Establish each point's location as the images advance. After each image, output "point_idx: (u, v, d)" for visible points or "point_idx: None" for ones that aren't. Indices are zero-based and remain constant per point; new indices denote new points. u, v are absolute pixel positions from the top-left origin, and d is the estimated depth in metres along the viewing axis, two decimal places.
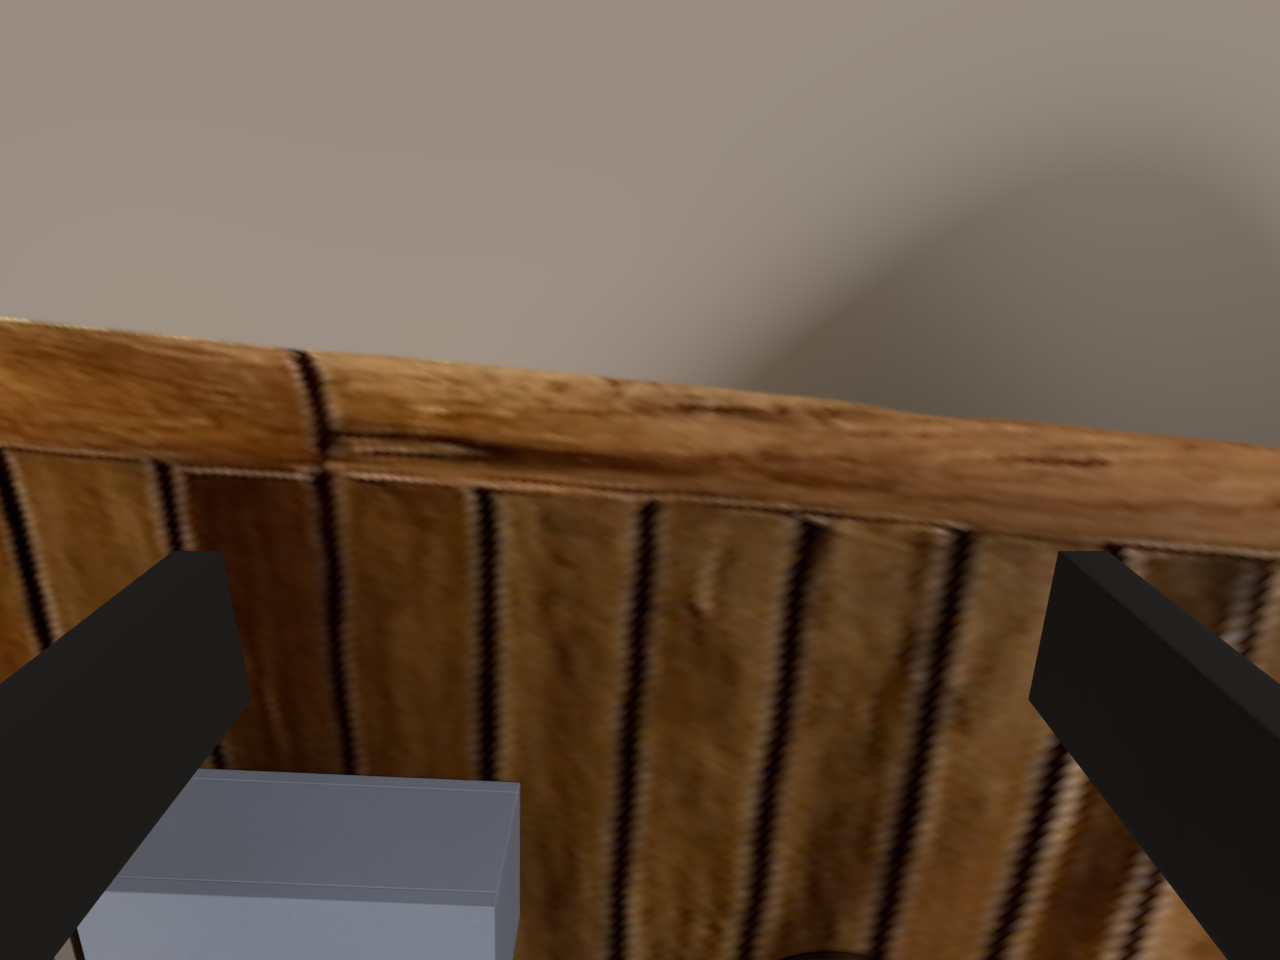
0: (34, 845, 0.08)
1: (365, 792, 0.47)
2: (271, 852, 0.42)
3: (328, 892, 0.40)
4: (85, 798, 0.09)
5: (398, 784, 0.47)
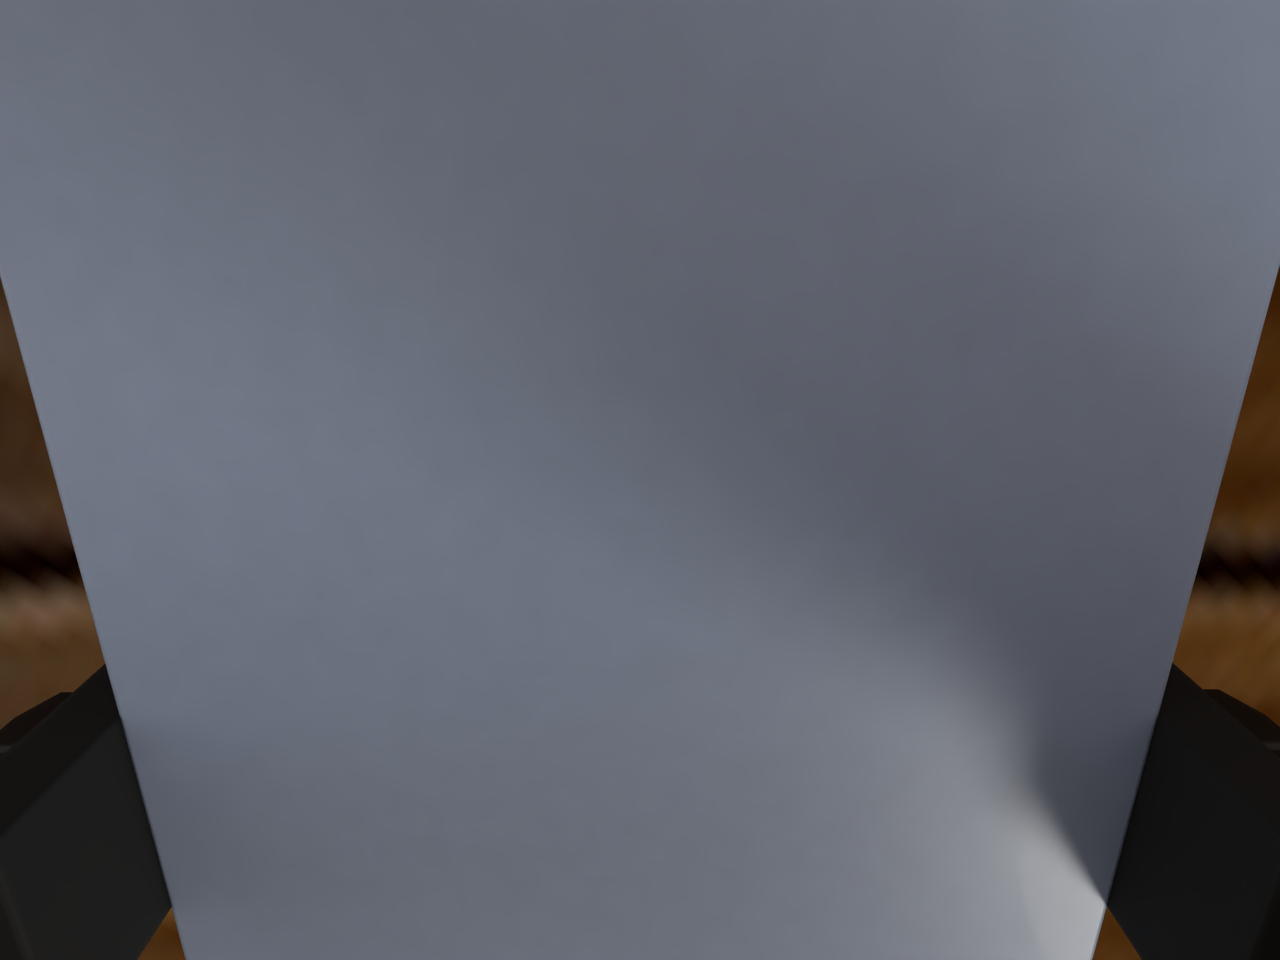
0: None
1: None
2: None
3: None
4: None
5: None
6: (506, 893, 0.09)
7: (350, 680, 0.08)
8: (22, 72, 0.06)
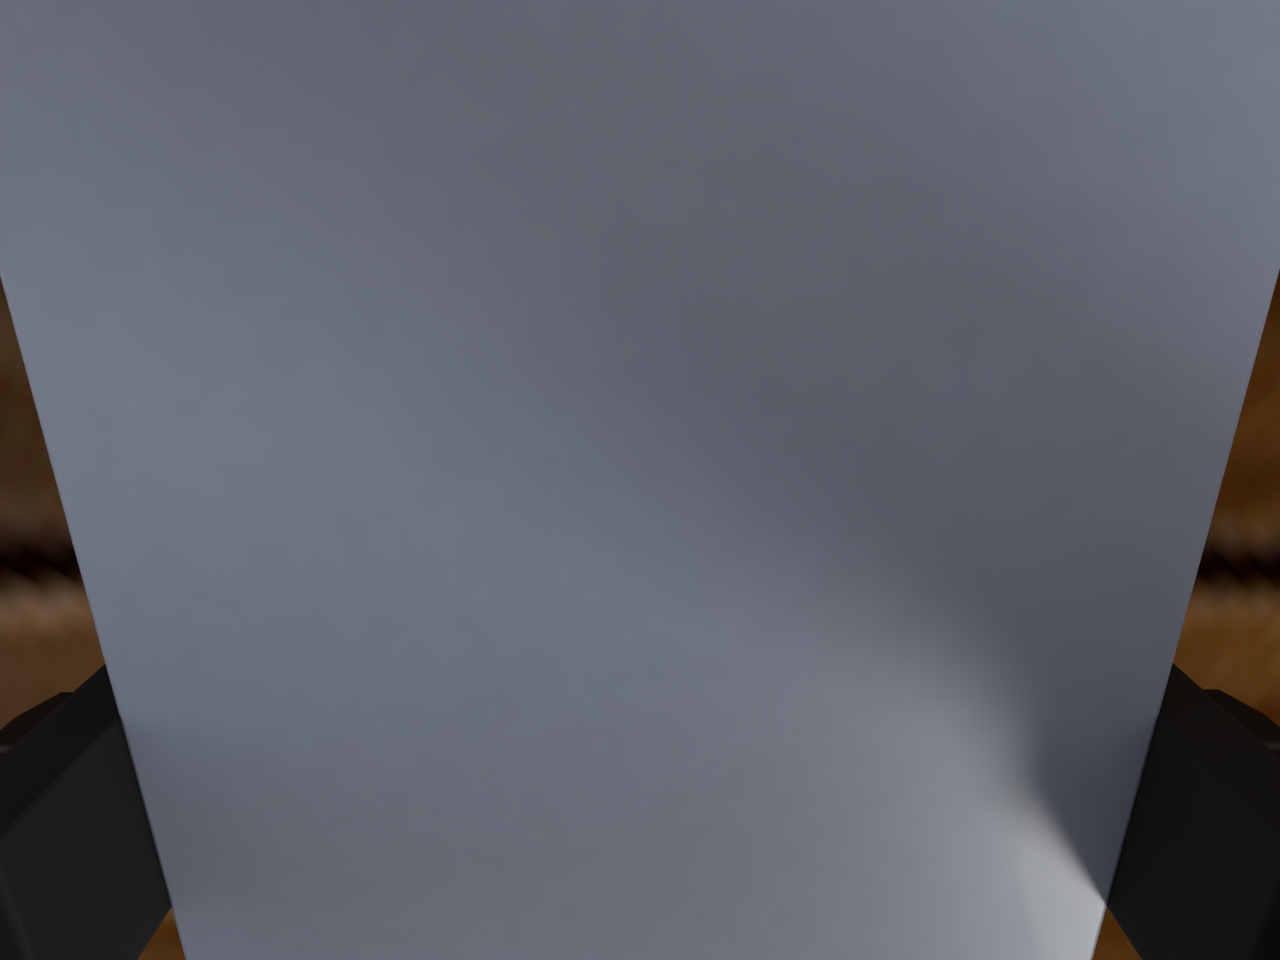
0: None
1: None
2: None
3: None
4: None
5: None
6: (506, 894, 0.09)
7: (350, 681, 0.08)
8: (22, 72, 0.06)
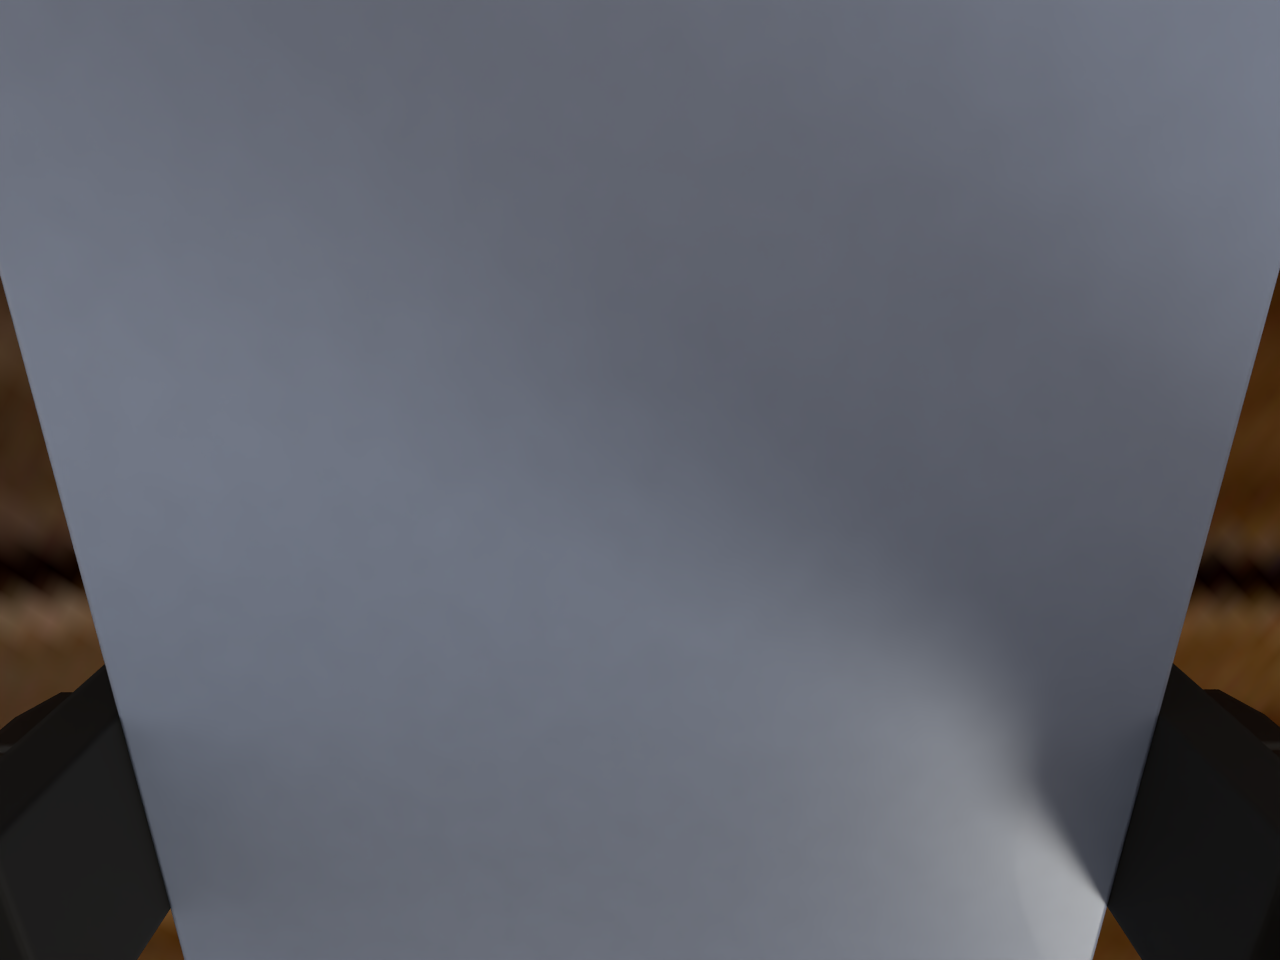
0: None
1: None
2: None
3: None
4: None
5: None
6: (506, 894, 0.09)
7: (350, 681, 0.08)
8: (23, 72, 0.06)
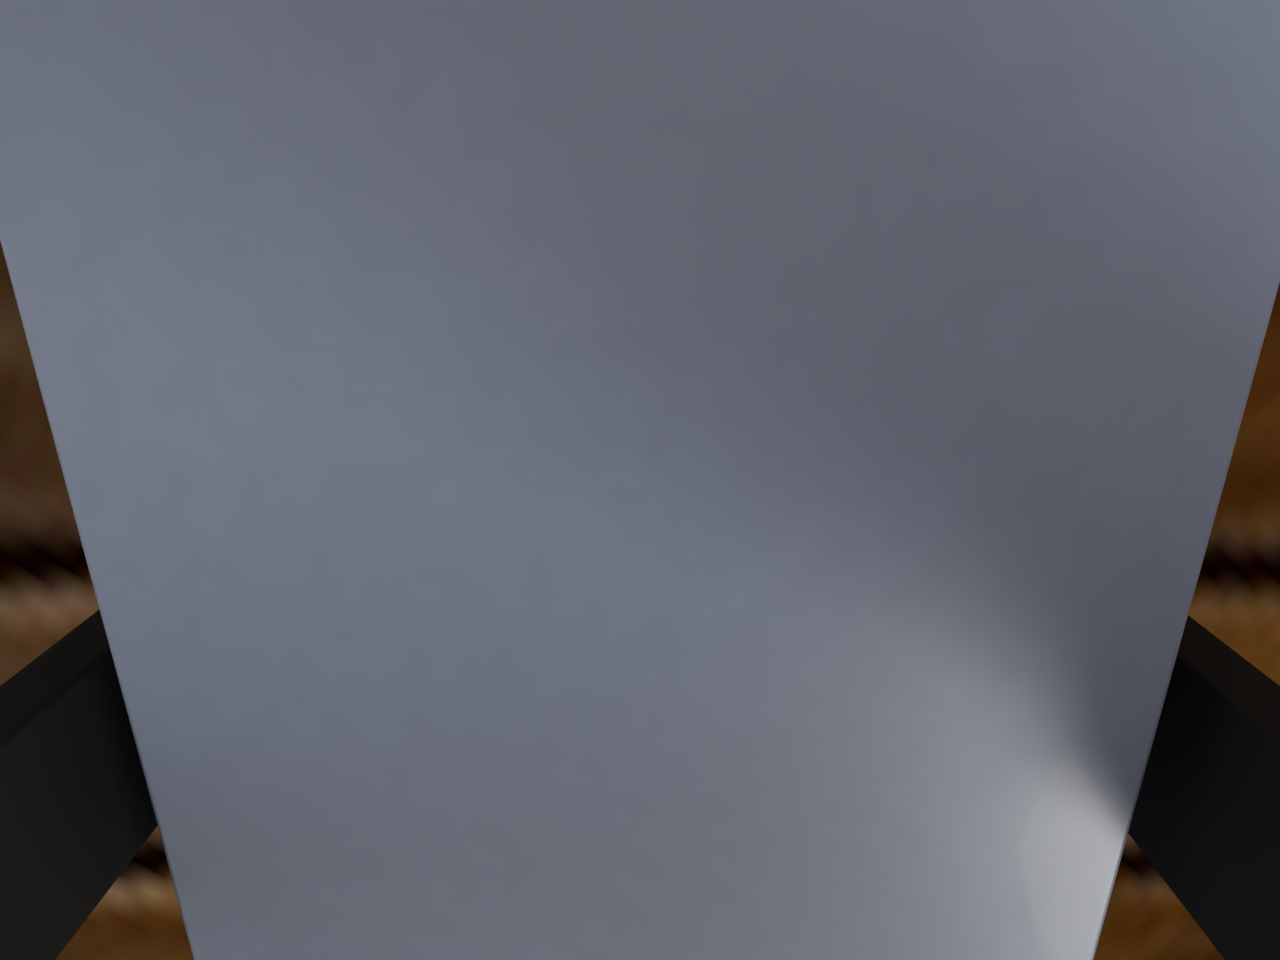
0: (39, 843, 0.08)
1: None
2: None
3: None
4: (88, 795, 0.09)
5: None
6: (509, 870, 0.09)
7: (352, 653, 0.08)
8: (22, 31, 0.06)
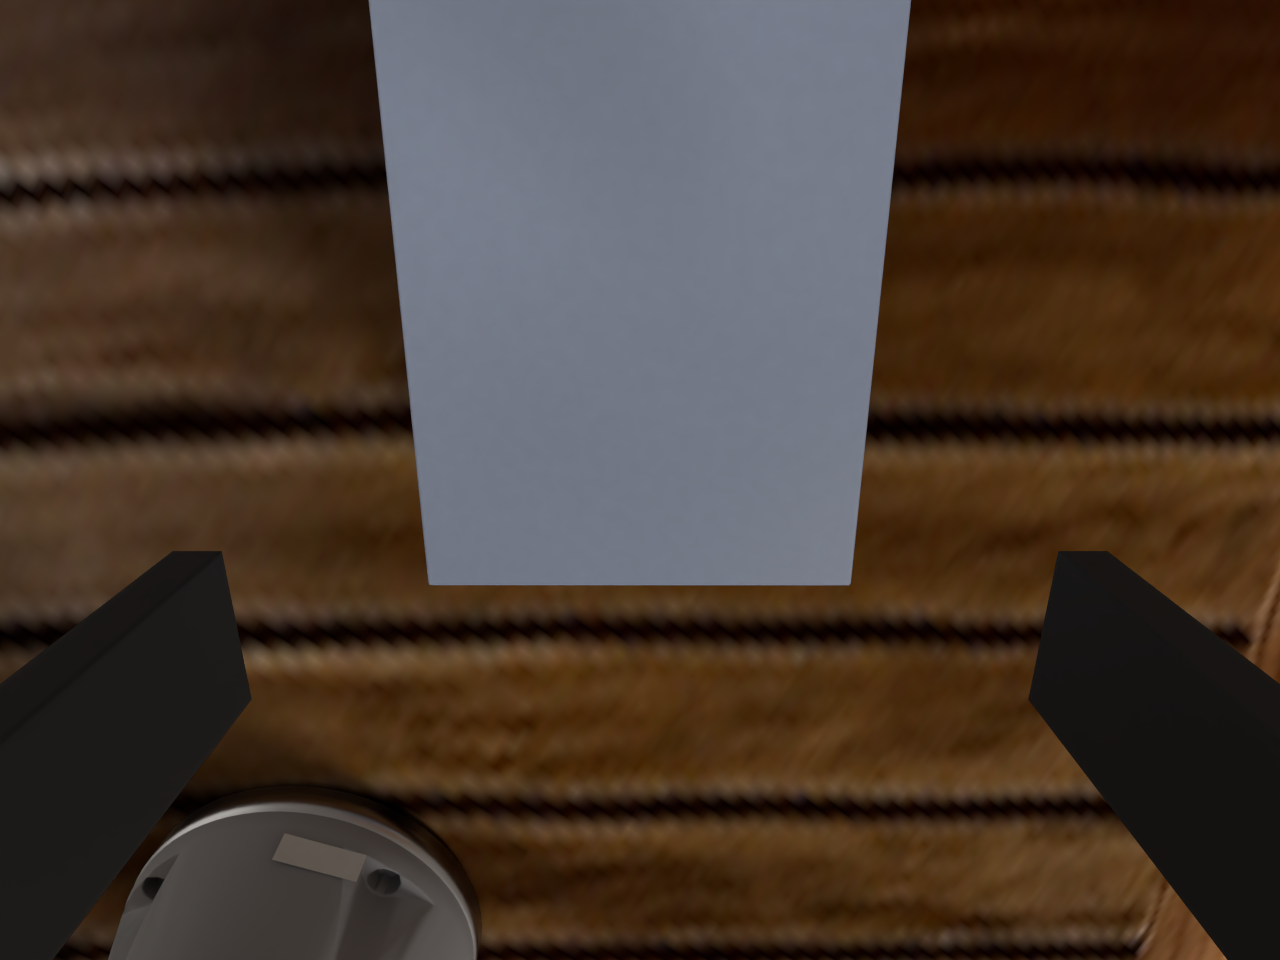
0: (34, 845, 0.08)
1: None
2: None
3: None
4: (84, 798, 0.09)
5: None
6: (577, 504, 0.20)
7: (513, 391, 0.19)
8: (411, 133, 0.17)
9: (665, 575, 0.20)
